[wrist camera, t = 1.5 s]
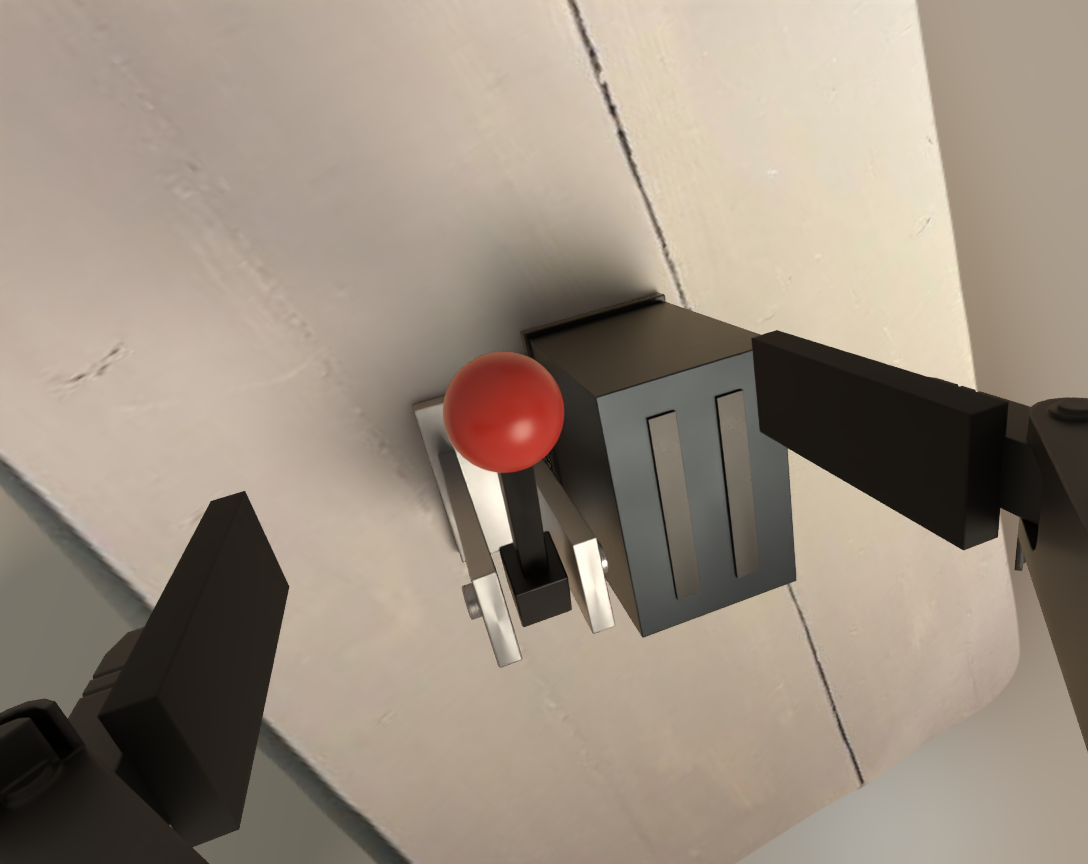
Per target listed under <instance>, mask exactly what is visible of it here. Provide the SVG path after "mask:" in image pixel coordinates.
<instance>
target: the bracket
mask: <svg viewBox="0 0 1088 864" xmlns="http://www.w3.org/2000/svg"><path fill="white" fill-rule="evenodd" d="M444 398H445V395H444V396H441V397H437V398H434V399H431V400H427V401H424V402H420V403H417V404H414V405H413V410H414V414H415V417H416V420H417V423H418V426H419V429H420V432H421V435H422V439H423V442H424V445H425V448H426V451H427V454H428V457H429V460H430V463H431V466H432V470H433V473H434V476H435V479H436V482H437V485H438V488H439V491H440V494H441V497H442V500H443V504H444V507H445V510H446V513H447V516H448V519H449V522H450V525H451V528H452V531H453V535H454V538H455V541H456V544H457V547H458V550H459V553H460V556H461V559H462V562H466V564H467V568H468V571H469V575H470V579H471V582H472V583H470V584H467V585H464V586H462V592H463V595H464V599H465V602H466V606H467V609H468V612H469V615H470V618H471V619H472V620H473V619H476V618H479V617H482V616H483V620H484V623H485V626H486V629H487V632H488V635H489V638H490V641H491V645H492V648H493V651H494V654H495V657H496V660H497V663H498V666H499V667H504V666H507V665H509V664H512V663H515V662H517V661H520V660H522V655H521V651H520V648H519V645H518V641H517V638H516V635H515V631H514V628H513V625H512V621H511V618H510V615H509V611H508V608H507V605H506V601H505V598H504V595H503V591H502V588H501V585H500V581H499V578H498V574H497V571H496V568H495V565H494V562H493V560H492V557H491V553H494V552H497V551H499V547H501V546H503V545H506V544H509V543H512V542H513V540H512V536H511V531H510V527H509V522H508V518H507V514H506V509H505V505H504V500H503V496H502V492H501V487H500V483H499V478H498V474H497V472H492V471H487V470H484V469H481V468H479V467H477V466H475V465H473V464H471V463H470V462H469V461H467V460H466V459H465V458H463V457H462V456H461V455H460V454H459V452H458V451H457V450H456V449H455V448H454V446H453V445H452V443H451V441H450V440H449V437H448V435H447V432H446V430H445V425H444V421H443V404H444ZM533 466H534V473H535V479H536V486H537V492H538V498H539V505H540V511H541V518H542V524H543V530H544V532H545V531H549V532H550V534H551V537H552V539H553V541H554V544H555V546H556V549H557V551H558V554H559V556H560V558H561V561H562V563H563V566H564V568H565V571H566V573H567V575H568V580H569V588H570V590H571V592H572V594H573V596H574V598H575V600H576V602H577V604H578V606H579V608H580V609H581V611H582V613H583V615H584V617H585V619H586V621H587V623H588V625H589V627H590V629H591V631H592V633H593V634H595V633H597V632H600V631H603V630H606V629H608V628H611V627H614V626H615V621H614V616H613V612H612V607H611V603H610V598H609V593H608V589H607V584H606V579H605V575H604V573H607V572H608V571H609V565H608V561H607V557H606V554H605V552H604V549H603V547H602V545H601V544H600V542H599V541H598V540H597V538H596V536H595V535H594V533H593V532H592V530H591V529H590V527H589V526H588V524H587V523H586V521H585V520H584V518H583V517H582V515H581V514H580V512H579V511H578V509H577V508H576V507H575V505H574V504H573V502H572V501H571V499H570V498H569V496H568V495H567V493H566V492H565V490H564V489H563V487H562V486H561V484H560V483H559V481H558V480H557V478H556V477H555V475H554V474H553V472H552V471H551V469H550V468H549V466H548V465H547V463H546V462H545V460H544V459H541V460H540V461H539V462H538V463H536V464H534V465H533Z"/></svg>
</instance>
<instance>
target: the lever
mask: <svg viewBox="0 0 1088 864" xmlns="http://www.w3.org/2000/svg"><path fill="white" fill-rule="evenodd" d="M443 421H444V425H445V430H446V432H447V435H448V437H449V440H450V441H451V443H452V445H453V446H454V448H455V449H456V450H457V451H458V452H459V454H460V455H461V456H462V457H463V458H465V459H466V460H467V461H469V462H470V463H471V464H473V465H475V466H477V467H479V468H481V469H484V470H487V471H492V472H497V474H498V478H499V483H500V487H501V492H502V496H503V500H504V505H505V509H506V514H507V518H508V522H509V527H510V531H511V536H512V540H513V542H512V543H509V544H506V545H503V546H501V547H499V551H500V555H501V559H502V563H503V566H504V570H505V574H506V578H507V582H508V585H509V588H510V591H511V594H512V597H513V600H514V603H515V606H516V609H517V612H518V615H519V618H520V621H521V623H522V626H523V627H526V626H529V625H532V624H534V623H537V622H540V621H543V620H546V619H548V618H551V617H554V616H557V615H560V614H562V613H565V612H568V611H570V610H572V606H571V598H570V589H569V580H568V575H567V573H566V571H565V568H564V566H563V563H562V561H561V558H560V556H559V554H558V551H557V549H556V546H555V544H554V541H553V539H552V537H551V534H550V532H549V531H545V532H544V530H543V524H542V518H541V511H540V505H539V498H538V492H537V486H536V479H535V473H534V466H533V465H534V464H536V463H538V462H539V461H540V460H541V459H543V458H544V457H545V456H546V455H547V454H548V453H549V452H550V451H551V450H552V448H553V447H554V445H555V444H556V442H557V440H558V438H559V436H560V433H561V430H562V427H563V421H564V403H563V398H562V394H561V391H560V389H559V386H558V384H557V383H556V381H555V379H554V378H553V376H552V375H551V374H550V373H549V372H548V370H547V369H546V368H545V367H544V366H542V365H541V364H540V363H538V362H537V361H535V360H534V359H532V358H530V357H527V356H525V355H522V354H519V353H515V352H506V351H503V352H492V353H488V354H485V355H482V356H479V357H477V358H475V359H473V360H472V361H470V362H469V363H467V364H466V365H465V366H463V367H462V368H461V369H460V370H459V372H458V373H457V374H456V375H455V376H454V378H453V379H452V381H451V383H450V385H449V387H448V389H447V391H446V394H445V398H444V404H443Z"/></svg>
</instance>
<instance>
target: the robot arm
mask: <svg viewBox="0 0 1088 864" xmlns="http://www.w3.org/2000/svg"><path fill="white" fill-rule="evenodd" d="M751 340H752V351H753V363H754V374H755V385H756V396H757V407H758V418H759V429H760V432H761V433H763V434H764V435H766V436H768V437H770V438H771V439H773V440H775V441H776V442H778V443H780V444H782V445H783V446H785V447H787V448H788V449H790V450H792V451H794V452H795V453H797V454H799V455H800V456H802V457H804V458H806V459H807V460H809V461H811V462H813V463H814V464H816V465H818V466H819V467H821V468H823V469H825V470H826V471H828V472H830V473H831V474H833V475H835V476H837V477H838V478H840V479H842V480H843V481H845V482H847V483H849V484H850V485H852V486H854V487H855V488H857V489H859V490H861V491H862V492H864V493H866V494H867V495H869V496H871V497H873V498H874V499H876V500H878V501H880V502H881V503H883V504H885V505H886V506H888V507H890V508H892V509H893V510H895V511H897V512H898V513H900V514H902V515H904V516H905V517H907V518H909V519H910V520H912V521H914V522H916V523H917V524H919V525H921V526H922V527H924V528H926V529H928V530H929V531H931V532H933V533H934V534H936V535H938V536H940V537H941V538H943V539H945V540H946V541H948V542H950V543H952V544H953V545H955V546H957V547H959V548H960V549H962V550H966V549H968V548H971V547H974V546H976V545H979V544H981V543H984V542H987V541H989V540H992V539H994V538H997V537H998V529H999V517H1000V508H1002V509H1004V510H1006V511H1008V512H1010V513H1013V514H1015V515H1017V516H1019V529H1018V538H1017V549H1016V560H1015V570H1019V571H1022V568H1023V563H1025V562H1026V563H1027V566H1028V569H1029V572H1030V575H1031V578H1032V582H1033V585H1034V587H1035V591H1036V594H1037V597H1038V600H1039V603H1040V606H1041V609H1042V612H1043V615H1044V618H1045V622H1046V624H1047V627H1048V631H1049V634H1050V637H1051V640H1052V643H1053V646H1054V649H1055V652H1056V655H1057V659H1058V662H1059V665H1060V668H1061V671H1062V674H1063V677H1064V680H1065V683H1066V686H1067V689H1068V693H1069V696H1070V698H1071V702H1072V705H1073V708H1074V711H1075V714H1076V717H1077V720H1078V723H1079V726H1080V729H1081V733H1082V736H1083V739H1084V742H1085V744H1086V748H1087V751H1088V399H1087V398H1057V399H1049V400H1045V401H1041V402H1038V403H1036V404H1035V405H1033V406H1032V407H1029V406H1026V405H1023V404H1019V403H1016V402H1013V401H1010V400H1006V399H1003V398H1000V397H997V396H993V395H990V394H987V393H984V392H980V391H979V392H976V391H975V390H974V389H971V388H967V387H964V386H960V387H959V386H958V384H954V383H951V382H948V381H944V380H941V379H938V378H932V377H926V376H923V375H920V374H917V373H913V372H910V371H907V370H904V369H900V368H897V367H894V366H891V365H887V364H884V363H881V362H878V361H875V360H871V359H868V358H865V357H862V356H858V355H855V354H852V353H849V352H845V351H842V350H839V349H836V348H833V347H829V346H826V345H823V344H820V343H816V342H813V341H810V340H807V339H803V338H800V337H797V336H794V335H790V334H787V333H784V332H781V331H778V330H776V331H773V332H770V333H766V334H763V335H760V336H756V337H753V338H751ZM288 590H289V585H288V583H287V581H286V578H285V576H284V574H283V572H282V570H281V568H280V565H279V563H278V561H277V559H276V557H275V555H274V553H273V550H272V548H271V546H270V544H269V542H268V540H267V537H266V535H265V533H264V531H263V529H262V527H261V524H260V522H259V520H258V518H257V516H256V514H255V511H254V509H253V507H252V505H251V503H250V501H249V498H248V496H247V494H246V492H245V491H243V492H240V493H236V494H233V495H230V496H226V497H223V498H220V499H216V500H213V501H211V502H210V504H209V506H208V508H207V510H206V511H205V513H204V515H203V517H202V519H201V521H200V523H199V525H198V527H197V528H196V530H195V532H194V534H193V536H192V538H191V540H190V542H189V544H188V545H187V547H186V549H185V551H184V553H183V555H182V557H181V559H180V561H179V563H178V564H177V566H176V568H175V570H174V572H173V574H172V576H171V578H170V580H169V581H168V583H167V585H166V587H165V589H164V591H163V593H162V595H161V597H160V598H159V600H158V602H157V604H156V606H155V608H154V610H153V612H152V614H151V615H150V617H149V619H148V621H147V623H146V625H145V627H143V628H140V629H137V630H133V631H131V632H128V633H127V634H126V635H125V636H124V637H123V638H122V639H121V640H120V641H119V642H118V643H117V644H116V645H115V646H114V647H113V648H112V649H111V650H110V651H108V653H107V654H105V656H104V658H103V659H102V661H101V663H100V665H99V666H98V668H97V670H96V671H95V673H94V675H93V680H91V681H90V682H89V684H88V685H87V687H86V689H85V690H84V692H83V694H82V695H83V698H80V699H79V701H78V702H77V704H76V706H75V707H74V709H73V711H72V713H71V714H70V716H69V718H68V719H67V717H66V716H65V715H64V713H63V712H62V710H61V709H60V708H59V706H58V705H57V703H56V702H55V701H51V700H48V699H39V700H34V701H28V702H25V703H23V704H20V705H17V706H15V707H12V708H10V709H7V710H6V711H4V712H2V713H0V864H209V863H208V862H207V861H206V860H205V859H204V858H203V857H201V855H200V854H198V853H197V852H196V851H195V850H194V849H193V848H192V847H194V846H197V845H200V844H202V843H205V842H207V841H210V840H213V839H215V838H218V837H220V836H223V835H226V834H228V833H231V832H233V831H236V830H239V828H240V822H241V818H242V813H243V808H244V804H245V799H246V794H247V789H248V784H249V779H250V775H251V770H252V764H253V760H254V755H255V750H256V745H257V741H258V736H259V731H260V726H261V721H262V716H263V711H264V707H265V702H266V697H267V692H268V687H269V682H270V678H271V673H272V668H273V663H274V658H275V653H276V648H277V644H278V639H279V634H280V629H281V624H282V619H283V614H284V610H285V605H286V600H287V595H288ZM169 825H171V826H172V828H171V827H170V826H169Z"/></svg>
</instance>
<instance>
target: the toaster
mask: <svg viewBox="0 0 1088 864" xmlns="http://www.w3.org/2000/svg"><path fill="white" fill-rule="evenodd" d="M756 336H760V334H757V333H754V332H751V331H748V330H745V329H743V328H740V327H737V326H734V325H731V324H728V323H725V322H722V321H719V320H716V319H714V318H711V317H708V316H705V315H702V314H699V313H696V312H693V311H690V310H687V309H685V308H682V307H679V306H676V305H673V304H670V303H667V302H665V295H664V294H661V293H656V294H652V295H649V296H645V297H642V298H638V299H635V300H631V301H628V302H624V303H620V304H617V305H613V306H610V307H606V308H603V309H599V310H595V311H592V312H588V313H585V314H581V315H578V316H574V317H571V318H567V319H563V320H560V321H556V322H553V323H549V324H546V325H542V326H538V327H535V328H531V329H528V330H524V331H521V337H522V341H523V346H524V350H525V354H526V356H527V357H530V358H532V359H534V360H535V361H537V362H538V363H540V364H541V365H542V366H544V367H545V368H546V369H547V370H548V372H549V373H550V374H551V375H552V376H553V378H554V379H555V381H556V383H557V384H558V386H559V389H560V391H561V394H562V398H563V403H564V421H563V427H562V430H561V433H560V436H559V438H558V440H557V442H556V444H555V445H554V447H553V448H552V450H551V451H550V452H549V455H550V459H551V464H552V468H553V472H554V475H555V477H556V478H557V480H558V481H559V483H560V484H561V486H562V487H563V489H564V490H565V492H566V493H567V495H568V496H569V498H570V499H571V501H572V502H573V504H574V505H575V507H576V508H577V509H578V511H579V512H580V514H581V515H582V517H583V518H584V520H585V521H586V523H587V524H588V526H589V527H590V529H591V530H592V532H593V533H594V535H595V536H596V538H597V540H598V541H599V542H600V544H601V545H602V547H603V549H604V552H605V554H606V557H607V561H608V565H609V571H608V572H607V573H604V575H605V578H606V580H607V581H608V583H609V585H610V586H611V588H612V589H613V591H614V593H615V594H616V596H617V597H618V599H619V601H620V602H621V604H622V606H623V607H624V609H625V610H626V612H627V614H628V615H629V617H630V618H631V620H632V622H633V623H634V625H635V626H636V628H637V630H638V631H639V633H640V634H641V636H642V637H646V636H649V635H651V634H654V633H657V632H659V631H662V630H665V629H668V628H670V627H673V626H676V625H678V624H681V623H684V622H686V621H689V620H692V619H694V618H697V617H700V616H702V615H705V614H708V613H711V612H713V611H716V610H719V609H721V608H724V607H727V606H729V605H732V604H735V603H737V602H740V601H743V600H745V599H748V598H751V597H753V596H756V595H759V594H762V593H764V592H767V591H770V590H772V589H775V588H778V587H780V586H783V585H786V584H788V583H791V582H794V581H796V567H795V552H794V537H793V523H792V508H791V494H790V479H789V464H788V450H787V447H785V446H783V445H782V444H780V443H778V442H776V441H775V440H773V439H771V438H770V437H768V436H766V435H764V434H763V433H761V432H760V429H759V418H758V407H757V396H756V385H755V374H754V363H753V351H752V340H751V338H753V337H756Z"/></svg>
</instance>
